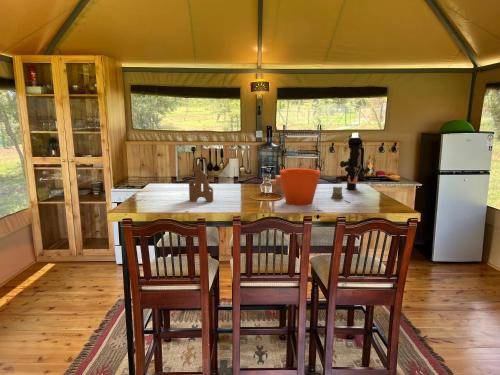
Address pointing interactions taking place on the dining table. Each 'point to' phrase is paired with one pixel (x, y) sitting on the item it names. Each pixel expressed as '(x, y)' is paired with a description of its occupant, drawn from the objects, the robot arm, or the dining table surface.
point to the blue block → (337, 189)
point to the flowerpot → (299, 185)
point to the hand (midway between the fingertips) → (352, 181)
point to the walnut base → (337, 196)
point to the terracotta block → (353, 180)
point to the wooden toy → (196, 189)
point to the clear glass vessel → (277, 185)
